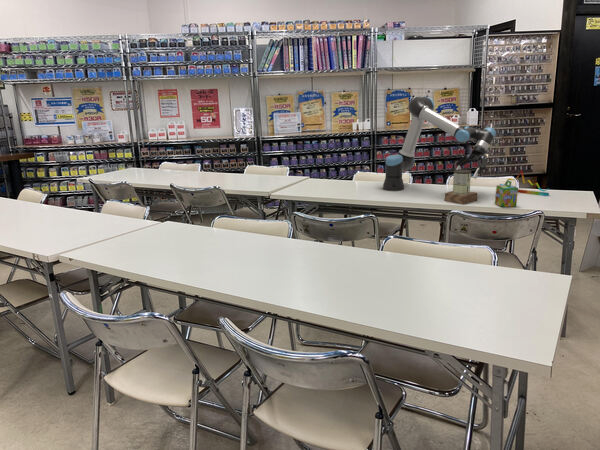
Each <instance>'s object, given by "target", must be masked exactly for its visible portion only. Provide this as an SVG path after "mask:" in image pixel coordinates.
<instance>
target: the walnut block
mask: <svg viewBox="0 0 600 450" xmlns="http://www.w3.org/2000/svg"><path fill="white" fill-rule="evenodd" d="M478 195H479V192H475V191H470V193H469V194H466V195H458V194H454V193H453V190H451V191H447V192H444V201H445V202H449V203H453V204H454V203H455V204H461V205H467V204H471V203H474V202H477V201H478Z"/></svg>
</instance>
